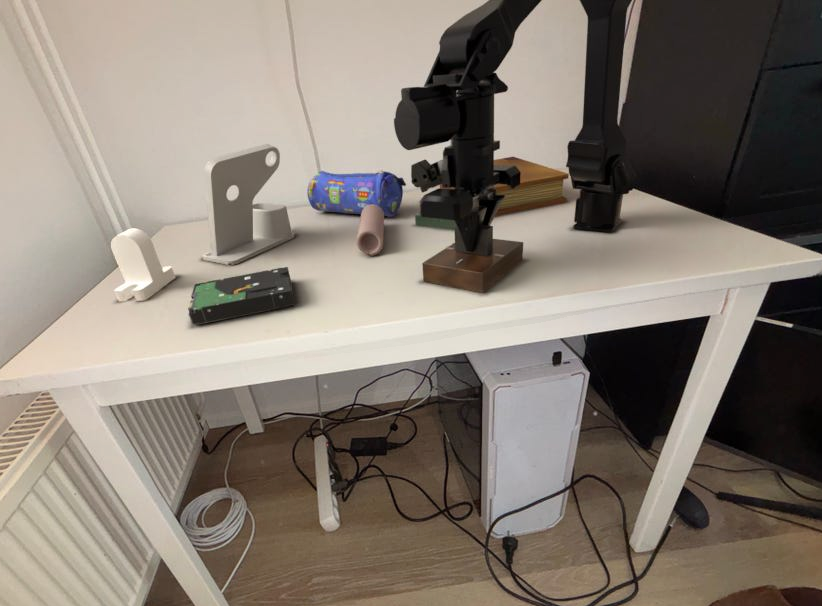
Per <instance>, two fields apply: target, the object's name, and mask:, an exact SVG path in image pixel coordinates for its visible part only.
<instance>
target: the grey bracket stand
mask: <svg viewBox="0 0 822 606" xmlns="http://www.w3.org/2000/svg"><path fill="white" fill-rule="evenodd" d="M269 153H271V158H270V160H269V162H268V163H267V162H266V161H267V160H266V159H267V156H268V155H269ZM280 154H281V153H280V150H279V149H278V148H277V147H275V146H274V145H271V144H269V143H265V144H261V145H257V146H253V147H250V148H245V149H242V150H238V151H234V152H231V153H227V154H223V155H220V156H217V157H213V158H210V159H209V160H208V162H207V163H206V164H205V167H204V182H205V192H206V193H205V194H206V207H207V218H208V230H209V242H210V251H207V252H205V253H203V254H202V255H201V256H202V260H204V261H207V262H212V263H216V264H222V265H229V266H230V265H232V266H233V265H238V264H240V263H242V262H244V261H246V260H249V259H251V258H254V257H255V256H258V255H259V254H262V253H264V252H266V251H268V250H270V249H272V248H275V247H277V246H279V245H282V244H283V243H286V242H287V241H290V240H291V239H294V238H295V232H293V231H292V227H291V221H290V218H289V214H288V213H289V212H288V209H287V205H285V204H279V203H268V202H259V203H254V199H255V197H256V196H257V195H258V194H259V192H260V191H261V190H262V188H264V186H265V185H266V184H267V182H268V181H269V180H270V179H271V177H272V176H273V175H274V174H275V173H276V171H277V170H278V168H279V166H280V162H281V159H280V157H281V155H280ZM232 186H235V187H236V188H237V190H238V191H237V193H236V194H235V197H234V198H233V199H228V197H227V193H228V190H229V189H230V188H231V187H232Z"/></svg>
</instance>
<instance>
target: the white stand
mask: <svg viewBox="0 0 822 606" xmlns="http://www.w3.org/2000/svg"><path fill="white" fill-rule="evenodd" d="M110 249H111V251H112V255H113V257H114V260H115V261H116V263H117V266H118V269H119V270H120V274H121V275H122V277H123V280H124V283H122V284H121V285H120V286H118V287H116V288H115V289H114V290H113V291H114V293H115V296H116V297H117V300H118V301H119V302H127V301H128V300H130V299H131V298H133V297H134V299H135V302H144V301H147V300H148V299H149V298H151V297H152V296H154V295H155V294H156V293H157V292H159V291H160V290H161V289H163V288H165V286H167V285H168V284H169V283H171V282H172V281H173V280H174V279H176V275H175V272H174V270H173V267H172V266H171V265H170V266H164V267H162V264H161V262H160V259H159V257H158V254H157V251H156V248H155V246H154V244H153V241H152V239H151V238H150V236H149V235H148V234H147V233H146V232H145V231H143V230H141V229H139V228H133V227H132V228H128V229H126V230H125V231H123V232H121V233H119V234H117V235H115V236H114V237H113V238H112V240H111V241H110Z"/></svg>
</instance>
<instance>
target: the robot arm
mask: <svg viewBox="0 0 822 606" xmlns="http://www.w3.org/2000/svg"><path fill="white" fill-rule="evenodd" d="M541 1H543V0H487V1H486V2H485V3H483V4H482V5H479V6H478V7H477V8H475V9H473V10H472V11H470V12H468V13H466V14H464V15H463V16H462V17H460V18H459V19H458V20H456V21H455V22H453V23H452V24H451V25H450V26H448V27H447V28H446V29H445V31H443V34H442V35H441V37H440V38H439V41H438V45H439V51H438V52H437V56H436V58H435V60H434V62H433V64H432V67H431V69H430V71H429V73H428V76H427V78H426V81H425V82H424V85H423V86H407V87H402V88H401V89H400V97H401V100H399V103H398V104H397V105H396V109H395V117H394V118H393V126H394V127H393V128H394V131H395V132H394V133H395V135H396V138H397V140H398V142H399V144H400V146H401V147H402V148H403V149H405V150H406V151H412V150H416V149H421V148H425V147H429V146H435V145H439V144H443V143H447V142H450V145H448V146H444V149H443V150H442V159H440V160H438V161H436V162H434V163H430V162H429V161H428V160H427V159H422V160H420V161H418V162H415V163H413V164H411V165H410V166H411V167H410V168H411V169H410V178H411V180H410V181H411V184H412V185H413V186H414V187H415V188H418V189H420V191H421V193H422V194H423V193H426V192H428V190H430V189H431V188H432V189H433V188H436V187H438V186H440V184H442V187H443V188H451V187H454V189H440V187H439V188H436V189H435V190H432V191H429V192H428V193H426V194H424V195H423V196H422V197H421V198H420V200H419V201H418V202H419V203H418V204H419V213H420V216H421V217H427V218H437V219H446V220H454V221H455V223H456V225H457V227H458V229H459V232H460V234H461V237H462V240H463V242H464V245H465V248H466V250H467V251H469V252H473V251H474V250H475V247H476V244H477V241H478V237H479V233H480V230H481V226H482V225H488V226H492V225H491V224H492V223H493V221H494V218H495V217H496V216H495V214H496V212H497V210H498V208H499V206H500V204H501V202H502V201H503V200H504V198H505V195H497V194H496V190H494V186H495V185H497V184H507V186H508V188H509V189H514V188H515V187H517V186H519V185H520V176H521V172H520V171H519V169H518V168H517V167H516V166H515V165H494V160H495V151H497V150H498V151H499V150H501V140H495V95H497V94H503V93H506V92H507V91H508V90H509V86H508V85H507V84H506V83H505V82H504V81H503V80H502V79H501V78H500V77H499V75H498V74H497V72H496V71H498V69H499V68H500V66H501V64H502V63H503V61H504V60H505V58H506V57H507V55H508V54H509V52H510V51H511V49H512V48H513V45H514V41H515V35H516V32H517V30H518V29H519V27H520V26H521V25H522V23H523V22H524V21H525V20H526V19H527V18H528V17H529V15H530V14H532V12H533V11H534V10H535V9H536V7H538V6H539V4H540V3H541ZM579 2H580V4H581V6H582V9H583V11H584V13H585V15H586V16H587V28H586V47H585V48H586V49H585V66H584V67H585V69H584V87H583V107H582V108H583V109H582V124H581V125H582V126H581V128H580V131H579V132H578V134H577V135H576V137H575V138H574V139H573V140H569V141H568V143H567V147H566V148H567V161H566V164H565V168H568V174H569V177H570V180H571V186H572V189H573V190H579V197H578V198H576V199H575V207H574V218H573V222H574V224H573V226H572V229H574V230H583V231H594V232H604V233H612V232H613V231H614V230H616V228H617V227H619V225H620V224H621V223H622V222H623V218H621V214H622V213H621V212H622V211H621V210H622V206H623V205H622V204H623V198H624V195H628V194H629V193H630V192H631V191H633V190H634V188H635V185H636V182H637V179H638V175H637V174H636V172H635V170H634V169H633V167H632V165H631V164H630V162H629V161H628V153H627V152H628V151H627V150H628V149H627V143H628V142H627V139H626V137H625V135H624V134H623V131H622V129H621V127H620V125H619V123H618V119H619V118H618V117H619V107H620V97H621V96H620V95H621V85H622V84H621V82H622V74H623V73H622V72H623V61H624V60H623V59H624V47H625V37H626V27H627V26H626V25H627V24H626V23H627V15H628V14H627V13H628V8H629V7H630V5H631V3H632V2H633V0H579Z"/></svg>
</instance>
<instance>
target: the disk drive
mask: <svg viewBox="0 0 822 606" xmlns="http://www.w3.org/2000/svg"><path fill="white" fill-rule="evenodd" d="M190 298H191V299H190V301H189V306H188V307H187V310H188V317H189V319H190V321H191V324H192V325H201V324H208V323H213V322H217V321H223V320H228V319H232V318H237V317H242V316H246V315H247V316H248V315H252V314H257V313H262V312H268V311H272V310H277V309H282V308H286V307H289V306H291V305H292V306H294V305H295V297H294V292H293V286H292V280H291V276H290V271H289V267H288V266H284V267H278V268H273V269H268V270H262V271H256V272H251V273H247V274H242V275H235V276H230V277H224V278H219V279H214V280H208V281H205V282H204V281H203V282H199V283H194V285H193V289H192V292H191V295H190Z"/></svg>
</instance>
